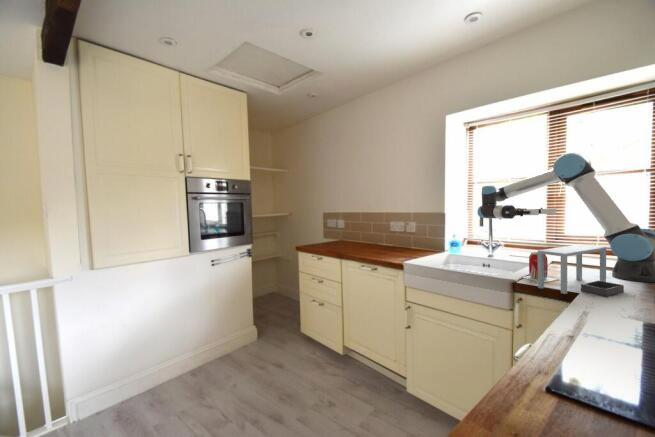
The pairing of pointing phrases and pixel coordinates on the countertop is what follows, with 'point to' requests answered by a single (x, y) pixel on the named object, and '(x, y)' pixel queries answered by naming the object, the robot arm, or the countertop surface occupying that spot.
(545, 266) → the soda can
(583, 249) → the bridge
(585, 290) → the tray
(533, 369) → the countertop surface
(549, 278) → the mat
